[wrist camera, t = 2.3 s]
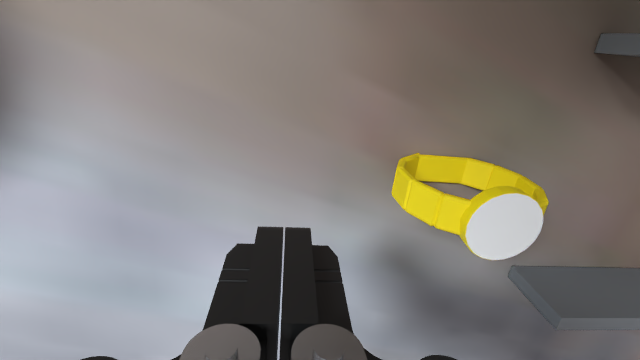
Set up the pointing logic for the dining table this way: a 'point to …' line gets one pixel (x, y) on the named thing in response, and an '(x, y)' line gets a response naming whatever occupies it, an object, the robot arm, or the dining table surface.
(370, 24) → the dining table surface
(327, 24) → the dining table surface
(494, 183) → the watch
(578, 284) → the box
